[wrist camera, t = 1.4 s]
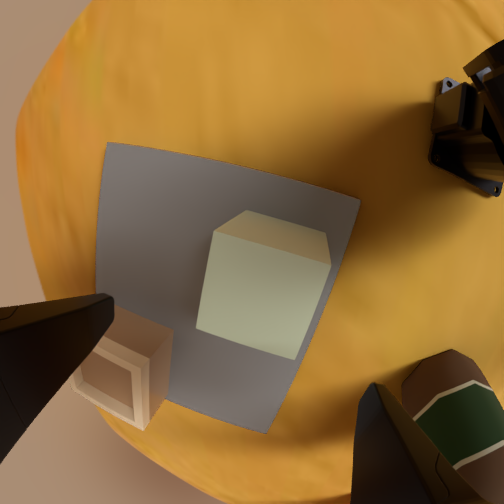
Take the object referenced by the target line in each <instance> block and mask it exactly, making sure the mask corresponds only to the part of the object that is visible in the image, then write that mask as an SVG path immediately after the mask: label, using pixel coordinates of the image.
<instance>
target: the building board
mask: <svg viewBox="0 0 504 504" xmlns="http://www.w3.org/2000/svg"><path fill="white" fill-rule="evenodd" d="M360 203H361V200H360V199H357V198H354V197H351V196H348V195H345V194H342V193H339V192H336V191H332V190H329V189H326V188H322V187H319V186H316V185H312V184H309V183H305V182H302V181H298V180H295V179H291V178H287V177H284V176H280V175H276V174H272V173H268V172H264V171H260V170H256V169H252V168H248V167H244V166H240V165H235V164H231V163H227V162H222V161H217V160H213V159H208V158H203V157H198V156H193V155H188V154H183V153H178V152H172V151H166V150H161V149H155V148H148V147H142V146H136V145H129V144H122V143H112V142H107V147H106V153H105V159H104V166H103V173H102V180H101V189H100V198H99V208H98V221H97V238H96V294H99V293H106V294H108V295H110V296H112V297H113V298H114V307H115V317H114V321H113V323H112V324H111V326H110V327H109V328H108V330H107V331H106V332H105V334H104V335H103V337H102V338H101V339H100V341H99V342H98V344H97V345H96V346H95V348H94V349H93V350H92V352H91V353H90V354H89V355H88V356H87V358H86V359H85V360H84V361H83V362H82V363H81V364H80V366H79V367H78V368H77V369H76V370H75V371H74V372H73V374H72V375H71V376H70V377H69V382H70V385H71V389H72V390H74V391H75V392H77V393H78V394H80V395H81V396H83V397H84V398H86V399H87V400H89V401H91V402H92V403H94V404H95V405H97V406H99V407H100V408H102V409H104V410H105V411H107V412H109V413H111V414H112V415H114V416H116V417H118V418H120V419H121V420H123V421H125V422H127V423H129V424H131V425H133V426H135V427H137V428H139V429H141V430H143V431H144V429H145V428H146V426H147V425H148V423H149V422H150V420H151V419H152V417H153V416H154V414H155V413H156V411H157V410H158V408H159V407H160V405H161V404H162V402H163V401H164V399H167V400H169V401H171V402H174V403H176V404H179V405H181V406H183V407H186V408H188V409H191V410H194V411H196V412H199V413H201V414H204V415H207V416H210V417H212V418H215V419H218V420H221V421H224V422H227V423H230V424H233V425H236V426H240V427H243V428H246V429H250V430H253V431H257V432H260V433H264V434H266V433H267V432H268V430H269V428H270V426H271V424H272V422H273V420H274V418H275V416H276V414H277V412H278V410H279V408H280V406H281V404H282V402H283V400H284V398H285V396H286V394H287V392H288V390H289V388H290V386H291V384H292V382H293V380H294V377H295V375H296V373H297V371H298V369H299V367H300V364H301V362H302V360H303V358H304V355H305V353H306V351H307V349H308V346H309V344H310V342H311V339H312V337H313V335H314V332H315V330H316V327H317V325H318V322H319V320H320V318H321V315H322V313H323V310H324V308H325V305H326V302H327V300H328V297H329V295H330V292H331V289H332V287H333V284H334V281H335V279H336V276H337V273H338V270H339V268H340V265H341V262H342V259H343V256H344V253H345V250H346V247H347V244H348V241H349V238H350V235H351V232H352V229H353V226H354V223H355V220H356V216H357V213H358V210H359V207H360ZM245 210H249V211H252V212H256V213H259V214H263V215H267V216H270V217H274V218H277V219H281V220H284V221H288V222H291V223H295V224H298V225H301V226H305V227H308V228H311V229H315V230H318V231H321V232H325V233H326V237H327V242H328V248H329V253H330V259H331V268H330V271H329V274H328V277H327V280H326V282H325V285H324V288H323V291H322V293H321V296H320V299H319V301H318V304H317V307H316V309H315V312H314V314H313V317H312V319H311V322H310V325H309V327H308V330H307V332H306V335H305V337H304V339H303V342H302V344H301V347H300V349H299V351H298V354H297V356H296V358H295V360H292V359H289V358H285V357H282V356H278V355H275V354H272V353H268V352H265V351H262V350H258V349H255V348H252V347H249V346H246V345H243V344H239V343H236V342H233V341H230V340H227V339H225V338H222V337H219V336H216V335H213V334H210V333H207V332H205V331H202V330H199V329H196V324H197V318H198V312H199V306H200V300H201V295H202V289H203V284H204V278H205V273H206V268H207V262H208V257H209V252H210V247H211V242H212V237H213V232H214V230H216V229H217V228H219V227H220V226H222V225H223V224H225V223H226V222H228V221H230V220H231V219H233V218H234V217H236V216H237V215H239V214H241V213H242V212H244V211H245Z"/></svg>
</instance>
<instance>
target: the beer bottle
mask: <svg viewBox="0 0 504 504" xmlns="http://www.w3.org/2000/svg"><path fill="white" fill-rule="evenodd" d="M402 403H403V408H404V409H405V410H406V411H407V413H408V414H409V415H410V416H411V417H412V419H413V420H414V421H415V422H416V423H417V425H418V426H419V427H420V428H421V429H422V431H423V432H424V433H425V434H426V435H427V437H428V438H429V439H430V440H431V441H432V443H433V444H434V445H435V446H436V447H437V449H438V450H439V452H441V453H442V455H443V456H444V457H445V458H446V460H447V461H448V462H449V463H450V464H451V465H452V467H453V468H454V469H455V470H456V471H457V472H458V473H459V474H460V475H461V476H462V477H463V478H464V479H465V480H466V481H467V482H468V483H469V484H470V485H471V486H472V487H473V488H474V489H475V490H476V491H477V492H478V493H479V494H480V495H481V496H482V497H483V498H484V499H485V500H487V501H489V502H491V503H495V504H504V410H503V408H502V406H501V404H500V402H499V401H498V399H497V397H496V395H495V393H494V392H493V390H492V388H491V386H490V385H489V383H488V381H487V380H486V378H485V376H484V375H483V373H482V371H481V370H480V369H479V367H478V366H477V365H476V363H475V362H474V361H473V360H472V359H470V358H469V357H467V356H465V355H463V354H461V353H459V352H457V351H455V350H453V349H452V350H449V351H446V352H444V353H441V354H438V355H436V356H433V357H430V358H427V359H424V360H423V361H422V362H421V363H420V364H419V366H418V367H417V368H416V369H415V370H414V371H413V372H412V374H411V375H410V376H409V377H408V378H407V379H406V380H405V381H404V382H403V384H402Z"/></svg>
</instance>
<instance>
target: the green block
mask: <svg viewBox="0 0 504 504" xmlns="http://www.w3.org/2000/svg"><path fill="white" fill-rule="evenodd" d="M330 268H331V259H330V253H329V248H328V242H327V237H326V233H325V232H321V231H318V230H315V229H311V228H308V227H305V226H301V225H298V224H295V223H291V222H288V221H284V220H281V219H277V218H274V217H270V216H267V215H263V214H259V213H256V212H252V211H249V210H245V211H244V212H242V213H241V214H239V215H237V216H236V217H234V218H233V219H231V220H230V221H228V222H226V223H225V224H223V225H222V226H220V227H219V228H217V229H216V230H214V232H213V237H212V242H211V247H210V252H209V257H208V262H207V268H206V273H205V278H204V284H203V289H202V295H201V300H200V306H199V312H198V318H197V324H196V329H199V330H202V331H205V332H207V333H210V334H213V335H216V336H219V337H222V338H225V339H227V340H230V341H233V342H236V343H239V344H243V345H246V346H249V347H252V348H255V349H258V350H262V351H265V352H268V353H272V354H275V355H278V356H282V357H285V358H289V359H292V360H295V358H296V356H297V354H298V351H299V349H300V347H301V344H302V342H303V339H304V337H305V335H306V332H307V330H308V327H309V325H310V322H311V319H312V317H313V314H314V312H315V309H316V307H317V304H318V301H319V299H320V296H321V293H322V291H323V288H324V285H325V282H326V280H327V277H328V274H329V271H330Z"/></svg>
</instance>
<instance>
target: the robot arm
mask: <svg viewBox="0 0 504 504" xmlns="http://www.w3.org/2000/svg"><path fill="white" fill-rule="evenodd" d="M463 69H464V71H465V73H466V74H467V76H468V77H470V78H471V79H472V81H473V83H471V84H468V83H467V82H463V83H461V84H460V83H458V82H456V81H454V80H453V79H451V78H448V77H447V78H444V79H443V80H442V81H441V87H440V95H439V96H437V97H436V100H435V106H434V113H433V118H432V124H431V132H432V134H433V136H432V141H431V146H430V151H429V155H428V160H429V162H430V164H431V165H433V166H435V167H437V168H439V169H441V170H443V171H446V172H448V173H450V174H452V175H454V176H456V177H458V178H460V179H462V180H464V181H466V182H468V183H470V184H472V185H473V186H475V187H477V188H479V189H481V190H483V191H484V192H486V193H488V194H490V195H492V196H495V197H498V196H499V195H500V193H501V190H502V185H503V182H504V40H502V41H500V42H498V43H496V44H495V45H493V46H491V47H490V48H488V49H486V50H485V51H484V52H482V53H481V54H480V55H478V56H477V57H476V58H475V59H473V60H472V61H471V62H470V63H468V64H467V65H466V66H465V67H463ZM446 82H448V83H449V85H450V87H448V86H447V84H446ZM435 155H436V156H437V157H438V161H437V162H435V160H434V156H435ZM495 187H496V191H495V192H494V188H495ZM114 317H115V307H114V298H113V297H112V296H110V295H108V294H106V293H99V294H92V295H86V296H79V297H72V298H66V299H59V300H52V301H45V302H39V303H32V304H25V305H19V306H10V307H1V308H0V464H1V462H2V461H3V459H4V458H5V457H6V456H7V454H8V453H9V452H10V450H11V449H12V448H13V446H14V445H15V443H16V442H17V441H18V440H19V438H20V437H21V436H22V435H23V433H24V432H25V431H26V428H28V427H29V425H30V424H31V423H32V422H33V420H34V419H35V418H36V417H37V415H38V414H39V413H40V412H41V410H42V409H43V408H44V407H45V406H46V404H47V403H48V402H49V401H50V399H51V398H52V397H53V396H54V395H55V394H56V392H57V391H58V390H59V389H60V388H61V386H62V385H63V384H64V383H65V382H66V381H67V379H68V378H69V377H70V376H71V375H72V374H73V372H74V371H75V370H76V369H77V368H78V367H79V366H80V364H81V363H82V362H83V361H84V360H85V359H86V358H87V356H88V355H89V354H90V353H91V352H92V350H93V349H94V348H95V346H96V345H97V344H98V342H99V341H100V339H101V338H102V337H103V335H104V334H105V332H106V331H107V330H108V328H109V327H110V326H111V324H112V323H113V321H114ZM350 504H495V503H491V502H489V501H487V500H485V499H484V498H483V497H482V496H481V495H480V494H479V493H478V492H477V491H476V490H475V489H474V488H473V487H472V486H471V485H470V484H469V483H468V482H467V481H466V480H465V479H464V478H463V477H462V476H461V475H460V474H459V473H458V472H457V471H456V470H455V469H454V468H453V467H452V465H451V464H450V463H449V462H448V461H447V460H446V458H445V457H444V456H443V455H442V453H441V452H439V450H438V449H437V447H436V446H435V445H434V444H433V443H432V441H431V440H430V439H429V438H428V437H427V435H426V434H425V433H424V432H423V431H422V429H421V428H420V427H419V426H418V425H417V423H416V422H415V421H414V420H413V419H412V417H411V416H410V415H409V414H408V413H407V411H406V410H405V409H404V408H403V407H402V405H401V404H400V403H399V402H398V401H397V399H396V398H395V397H394V396H393V395H392V394H391V392H390V391H389V390H388V389H387V388H386V386H385V385H384V384H380V383H375V382H373V383H371V384H370V385H369V387H368V388H367V390H366V391H365V393H364V394H363V396H362V397H361V399H360V401H359V405H358V413H357V421H356V429H355V436H354V448H353V472H352V488H351V501H350Z"/></svg>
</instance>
